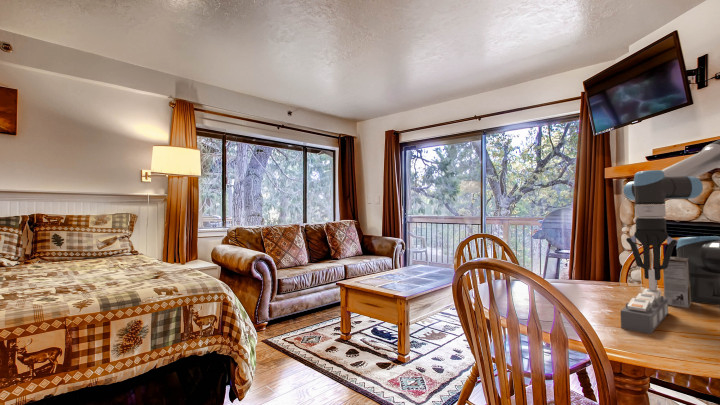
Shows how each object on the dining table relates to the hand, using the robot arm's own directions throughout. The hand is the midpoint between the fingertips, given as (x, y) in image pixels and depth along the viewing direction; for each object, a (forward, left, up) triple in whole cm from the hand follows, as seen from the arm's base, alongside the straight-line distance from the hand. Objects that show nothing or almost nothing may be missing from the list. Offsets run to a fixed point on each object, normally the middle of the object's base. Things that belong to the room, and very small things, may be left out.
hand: (652, 289), depth 109 cm
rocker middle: (+12, 0, -1) cm, 12 cm away
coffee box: (-19, +4, -8) cm, 20 cm away
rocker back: (+3, 0, -1) cm, 4 cm away
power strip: (+12, 0, -7) cm, 14 cm away
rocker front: (+20, 0, -1) cm, 21 cm away
